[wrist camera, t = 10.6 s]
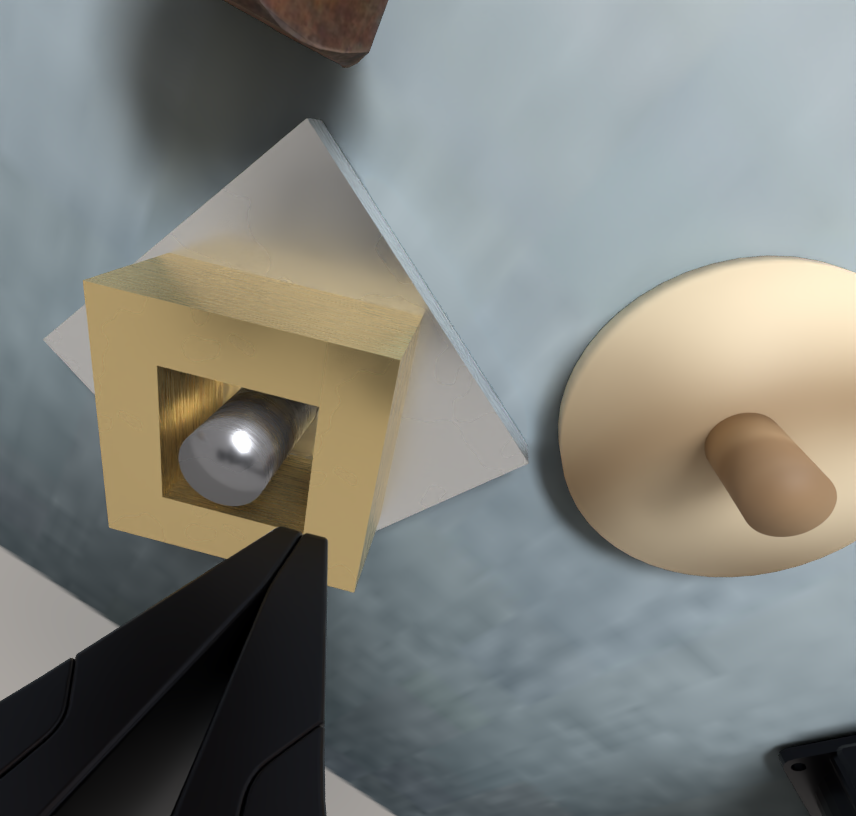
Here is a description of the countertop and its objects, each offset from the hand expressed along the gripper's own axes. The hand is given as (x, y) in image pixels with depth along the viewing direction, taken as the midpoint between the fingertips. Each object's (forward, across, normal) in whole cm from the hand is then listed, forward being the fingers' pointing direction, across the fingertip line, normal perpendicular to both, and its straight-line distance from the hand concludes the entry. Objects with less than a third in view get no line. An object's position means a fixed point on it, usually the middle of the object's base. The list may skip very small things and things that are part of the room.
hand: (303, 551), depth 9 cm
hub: (+7, +3, +1) cm, 8 cm away
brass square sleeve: (+6, +3, +1) cm, 7 cm away
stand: (+7, -9, -1) cm, 12 cm away
